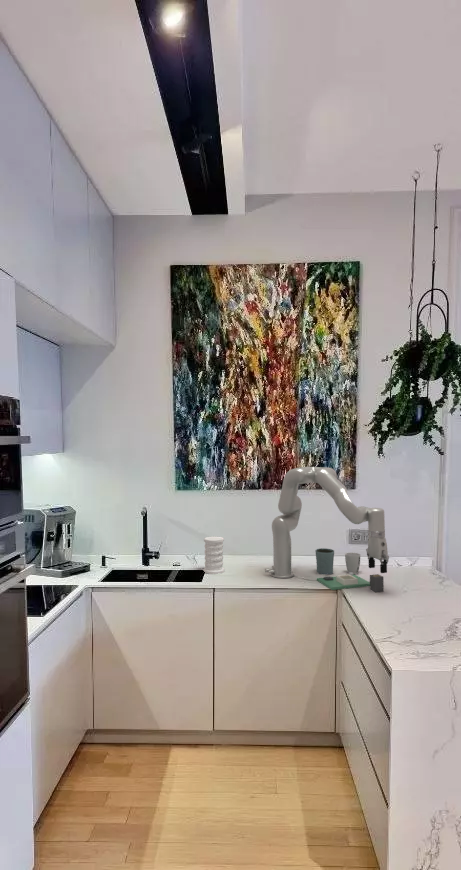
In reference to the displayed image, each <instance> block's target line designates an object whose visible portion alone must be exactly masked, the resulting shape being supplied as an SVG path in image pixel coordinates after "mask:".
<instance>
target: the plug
mask: <svg viewBox="0 0 461 870" xmlns="http://www.w3.org/2000/svg"><path fill="white" fill-rule="evenodd" d="M369 582H370V586H369V590H370V591H371V592H373V593H383V592H384V589H385V588H384V583H385V582H384V575H383V576H382V575H380V574H379V573H378V574H369Z"/></svg>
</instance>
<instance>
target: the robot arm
mask: <svg viewBox="0 0 461 870" xmlns="http://www.w3.org/2000/svg"><path fill="white" fill-rule="evenodd" d="M337 475H338V474H337V472H336V471H335V469H334V468H332V467H323V466H322V467H321V466H320V467H318V466H304V467H303V466H301V467H296V468H292V469H290V470H288V471H287V472H286V473H285V475H284V478H283V480H282V485H281V491H280V494H279V499H278V503H277V509H278V511H279V512H280V513H281V515H278V516H276V517H275V518H274V519H273V520H272V522H271V531H272V537H273V538H272V541H273V542H272V543H273V544H272V545H273V549H272V550H273V554H272V555H273V556H272V557H273V559H272V560H273V565H271V567H268V568H267V567H266V568H264V573H269V574H270V575H271V577H273V578H275V579H276V578H277V579H289V578H290V579H291V578H294V577H295V572H294V571H292V537H291V533H290V532H291V531H294V530H295V529H296V528H297V526H298V525H299V524H298V523H299V520H300V516H301V511H302V505H303V504H302V503H303V502H302V500H301V498H300V497H299V495H298V492H299V485H303V484H309V483H310V484H311V483H313V484H318V485H319V486H320V487H321V488H322V489H323V490H324V491H325V492H326V493H327V494H328V495H329V496H330V497H331V498H332V499H333V501H334V503H335V505H336V507H337V509H338V510H339V511H340V513H341V514H342V515H343V516H345V518H346V519H347V520H348V521H349V522H350V523H352V524H354V525H360V524H363V523H366V522H367V524H368V525H367V529H368V533H367V534H368V539H367V548H366V549H365V551H366V555H367V560H368V568H369V569H375V567H376V559H377V560H379V562H380V565H379V568H380V569H379V571H380V574H385V573H386V574H387V572H388V563H389V559H390V556H389V554H388V552H389V551H388V545H387V543H388V542H387V539H386V529H385V527H386V526H385V525H386V524H385V523H386V522H385V510H384V509H383V508H381V507H367V506H361V505H360V506H358V507H357V505H355V504H354V502H352V500H351V499H350V497H349V495H348V489H347V487H346V486H345V485H344V484H343V483H342V481H340V480H339V479H338V476H337Z"/></svg>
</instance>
